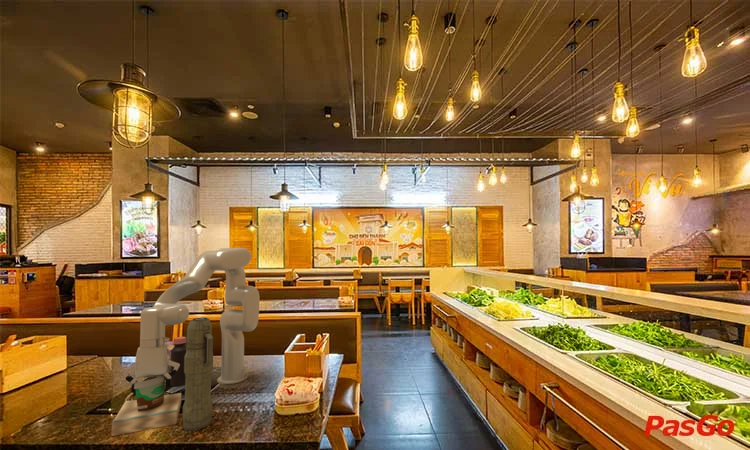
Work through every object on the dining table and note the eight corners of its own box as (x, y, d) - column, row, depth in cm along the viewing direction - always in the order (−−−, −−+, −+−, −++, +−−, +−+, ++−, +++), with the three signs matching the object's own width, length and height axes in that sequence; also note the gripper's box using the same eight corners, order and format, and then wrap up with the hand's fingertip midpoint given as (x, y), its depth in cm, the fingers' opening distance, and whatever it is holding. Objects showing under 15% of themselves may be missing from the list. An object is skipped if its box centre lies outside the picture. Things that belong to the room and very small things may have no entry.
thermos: (200, 433, 113) (202, 322, 115) (173, 427, 117) (176, 320, 120) (221, 420, 121) (223, 317, 124) (195, 415, 125) (197, 315, 128)
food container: (151, 412, 118) (150, 381, 119) (134, 413, 119) (133, 382, 120) (175, 397, 131) (174, 369, 131) (159, 398, 131) (158, 370, 132)
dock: (181, 403, 136) (181, 392, 136) (176, 424, 119) (176, 410, 119) (125, 412, 128) (125, 400, 129) (111, 436, 112) (111, 421, 112)
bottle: (190, 381, 159) (191, 336, 161) (180, 387, 152) (182, 339, 154) (176, 381, 160) (177, 336, 161) (166, 386, 153) (167, 339, 155)
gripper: (181, 337, 133) (180, 384, 132) (126, 343, 126) (124, 392, 125) (179, 342, 126) (178, 391, 125) (120, 348, 119) (119, 400, 118)
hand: (151, 391), depth 125 cm, fingers open, 9 cm apart
